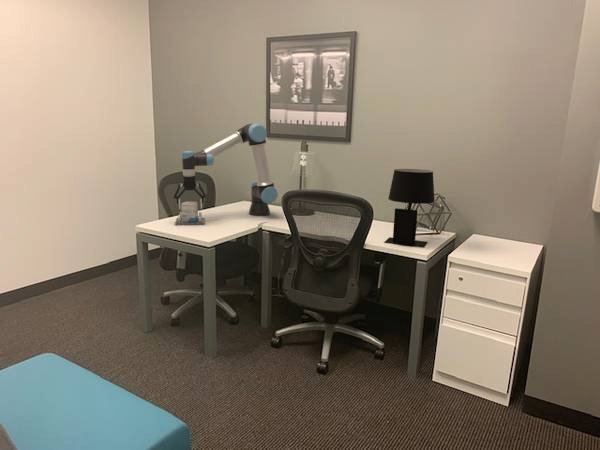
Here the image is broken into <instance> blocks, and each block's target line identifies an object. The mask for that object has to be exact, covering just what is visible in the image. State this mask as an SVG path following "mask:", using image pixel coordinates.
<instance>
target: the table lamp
mask: <svg viewBox="0 0 600 450" xmlns="http://www.w3.org/2000/svg"><path fill="white" fill-rule="evenodd" d="M388 201H392V202H397V203H401V204H407V205H408V206H407V209H406V208H398V207H397V208H394V217H393V230H392V231H393V232H392V236H391V237H390V236H389V237H388V238H387V239H386V240H385V241H384V242H383V243H384V244H389V245H390V244H391V245H392V244H393V245H399V246H406V247H416V248H425V247H426V245H427V244H428V243H429V241H425V240H416V235H417V222H418V210H417V209H412V205H413V204H415V205H416V204H417V205H418V204H420V205H421V204H432V203H433V204H434V203H435V186H434V171H433V170H430V169H428V170H427V169H420V168H419V169H418V168H417V169H416V168H395V169H394V170H393V174H392V180H391V185H390V189H389V195H388Z"/></svg>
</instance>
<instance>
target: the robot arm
mask: <svg viewBox="0 0 600 450" xmlns="http://www.w3.org/2000/svg"><path fill="white" fill-rule="evenodd" d="M267 136H268V131H267V129H266V127H265V126H264V125H262V124H260V123H248V124H245V125H244V126H242V127H241V128H238V129H237V130H235V131H234V133H233V134H231V135H228V136H227V137H225V138H222V139H220V140H219V141H218V142H215V143H214V144H211V145H210V146H208V147H205V148H204V149H202V150H200V151H197V152H194V150H183V151H182V153H181V155H182V156H181V163H182V175H183V176H182V179H183V181H182V183H178V184H177V185H178V187H177V189H176V191H175V194H174V195H173V199H176V204H177V205H178V209H179V210H181V196H182V195H183V194H184V192H186V191H194V192H195V193H196V194H197V195H198V196H199V197H200V209H203V204H204V199H205V198H207V195H206V193H205V191H204V189H203V188H202V184H201V182H198V183H196V182H197V181H196V167H203V166H205V167H210V166H213V165H214V162H215V161H214V158H215V157H217V156H218V155H220V154H223V153H224V152H226V151H227V150H228V151H229V150H230V149H232V148H234V147H236V146H237V145H239V144H242V145H243V144H244V143H248V146H249V147H250V148H251V149H252V150H251V151H252V155H253V156H252V157H253V160H254V161H253V162H254V167H255V171H256V177H257V181H258V182H252V183H251V186H250V187H251V191H250V192H251V193H250V194H251V195H250V196H251V203H250V207H249V209H248V214H249V215H251V216H260V217H261V216H268V215H271V211H270V210H271V209H270V208H269V204H272V203H275V201H276V200H277V198H278V194H279V192H278V190H277V189H276V188H275V185H274V184H275V183H274V181H273V180H272V179H271V176H270V175H271V174H270V169H269V164H268V163H269V162H268V158H267V151H266V148H265V145H266V144H267V141H266V140H267ZM181 187H183V189H182V190H181V191H180V189H181ZM196 187H198V188H199V190H200V191H199V190H198V189H197V188H196ZM179 191H180V192H179ZM200 192H201V193H200Z"/></svg>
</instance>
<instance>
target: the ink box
mask: <svg viewBox="0 0 600 450" xmlns="http://www.w3.org/2000/svg"><path fill="white" fill-rule="evenodd" d="M180 208H181V209H180V210H181V212H182V221H187V222H195V221H196V220H198V218H199V206H198V202H197V201H184V202H182V203H180Z"/></svg>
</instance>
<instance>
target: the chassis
mask: <svg viewBox="0 0 600 450" xmlns="http://www.w3.org/2000/svg"><path fill="white" fill-rule="evenodd" d="M178 214H179V216H177V217H176V220H175V222H174V225H175V226H204V225H205V217H202V215H203V213H202V212H201V211H200V212H199V211H198V220H196V221H195V222H187V221H182V211H181V212H179V213H178Z"/></svg>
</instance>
